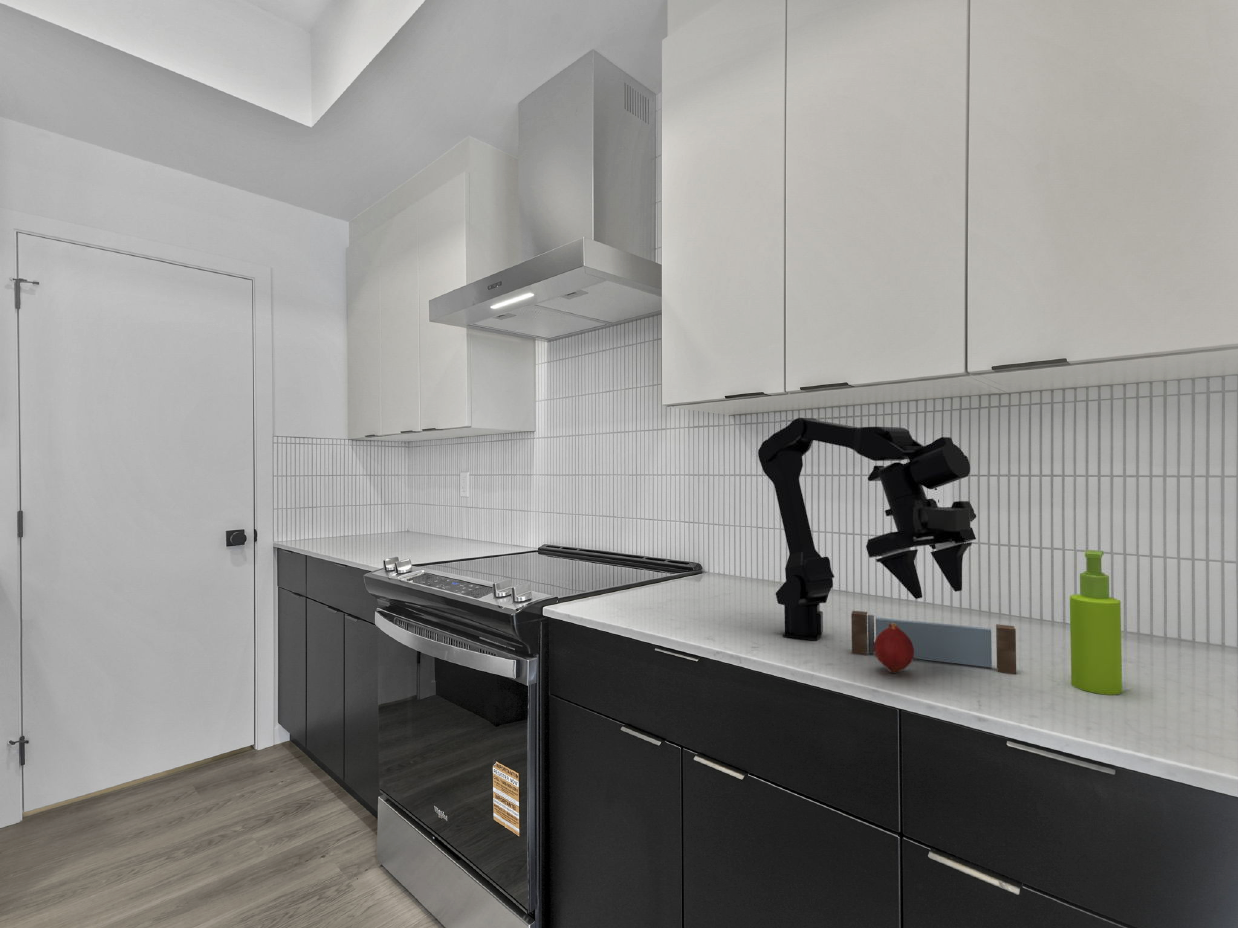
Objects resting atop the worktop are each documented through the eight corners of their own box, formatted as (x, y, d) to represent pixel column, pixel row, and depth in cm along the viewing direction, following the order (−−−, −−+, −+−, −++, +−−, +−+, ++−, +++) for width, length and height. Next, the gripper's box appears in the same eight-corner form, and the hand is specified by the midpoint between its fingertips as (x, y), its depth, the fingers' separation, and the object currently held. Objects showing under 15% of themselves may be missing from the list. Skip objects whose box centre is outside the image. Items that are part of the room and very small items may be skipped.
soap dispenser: (1123, 684, 90) (1120, 550, 90) (1121, 698, 84) (1118, 555, 85) (1074, 675, 93) (1071, 547, 94) (1069, 688, 88) (1066, 552, 88)
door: (868, 652, 105) (867, 615, 105) (868, 650, 106) (868, 614, 106) (991, 667, 97) (991, 627, 97) (991, 664, 98) (990, 625, 98)
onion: (880, 664, 100) (880, 616, 100) (918, 671, 96) (917, 621, 96) (869, 673, 95) (869, 623, 95) (909, 681, 92) (908, 629, 92)
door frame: (851, 654, 105) (851, 614, 106) (853, 649, 108) (852, 610, 108) (1016, 673, 94) (1015, 629, 95) (1013, 668, 97) (1013, 625, 97)
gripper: (907, 485, 87) (944, 592, 82) (988, 480, 95) (1026, 578, 90) (851, 507, 96) (881, 605, 92) (929, 501, 105) (960, 591, 100)
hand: (939, 594), depth 93 cm, fingers open, 9 cm apart
